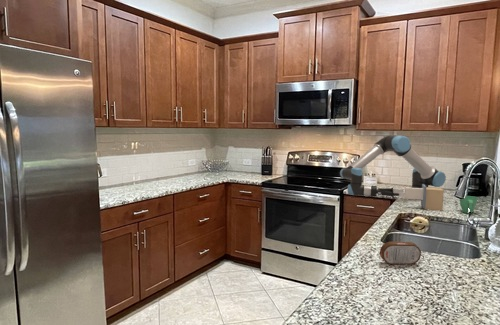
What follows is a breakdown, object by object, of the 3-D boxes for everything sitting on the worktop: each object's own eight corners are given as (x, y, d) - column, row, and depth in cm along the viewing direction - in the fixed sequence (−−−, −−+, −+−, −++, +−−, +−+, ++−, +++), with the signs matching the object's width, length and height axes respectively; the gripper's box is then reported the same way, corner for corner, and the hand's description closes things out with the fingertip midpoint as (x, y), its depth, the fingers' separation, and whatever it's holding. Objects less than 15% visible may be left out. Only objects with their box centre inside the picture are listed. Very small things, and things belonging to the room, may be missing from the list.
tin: (417, 262, 128) (418, 241, 128) (421, 265, 125) (423, 243, 124) (378, 262, 128) (379, 240, 128) (382, 265, 125) (383, 243, 124)
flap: (423, 204, 229) (424, 184, 227) (425, 208, 217) (426, 186, 216) (403, 203, 233) (404, 182, 232) (404, 207, 221) (405, 185, 220)
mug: (457, 210, 218) (458, 195, 217) (474, 211, 214) (475, 196, 213) (461, 215, 205) (462, 199, 204) (480, 216, 201) (481, 200, 200)
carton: (440, 207, 225) (441, 188, 223) (442, 211, 215) (443, 190, 214) (423, 206, 228) (424, 187, 227) (425, 209, 219) (426, 189, 218)
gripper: (371, 193, 244) (402, 195, 236) (369, 199, 221) (404, 202, 213) (371, 183, 243) (403, 185, 235) (370, 188, 220) (405, 190, 212)
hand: (404, 193), depth 224 cm, fingers open, 13 cm apart
